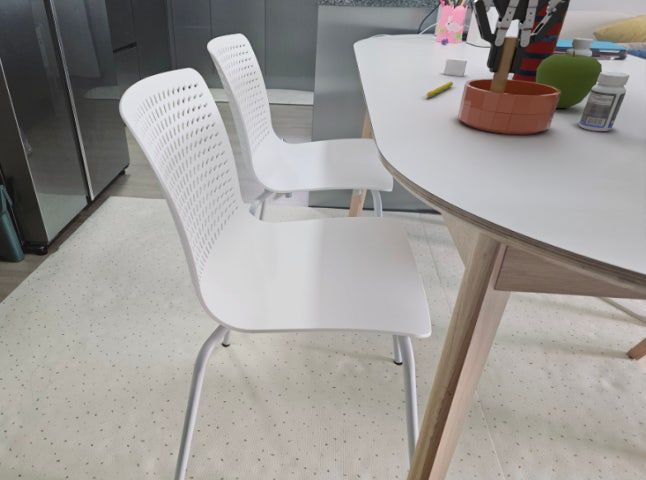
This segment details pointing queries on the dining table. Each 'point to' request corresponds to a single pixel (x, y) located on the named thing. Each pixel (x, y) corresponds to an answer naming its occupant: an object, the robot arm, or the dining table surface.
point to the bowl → (509, 106)
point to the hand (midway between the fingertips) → (502, 71)
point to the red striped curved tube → (539, 48)
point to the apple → (569, 76)
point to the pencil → (439, 89)
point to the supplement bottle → (581, 47)
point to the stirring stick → (504, 64)
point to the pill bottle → (604, 101)
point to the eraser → (455, 67)
